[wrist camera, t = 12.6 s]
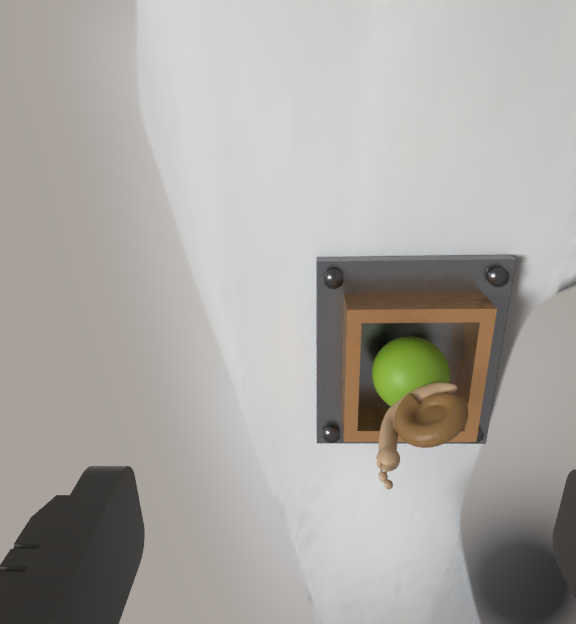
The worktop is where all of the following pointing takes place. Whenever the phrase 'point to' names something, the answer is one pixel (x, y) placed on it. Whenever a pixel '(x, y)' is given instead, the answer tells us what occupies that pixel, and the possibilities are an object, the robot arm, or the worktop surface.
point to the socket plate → (407, 333)
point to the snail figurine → (415, 399)
